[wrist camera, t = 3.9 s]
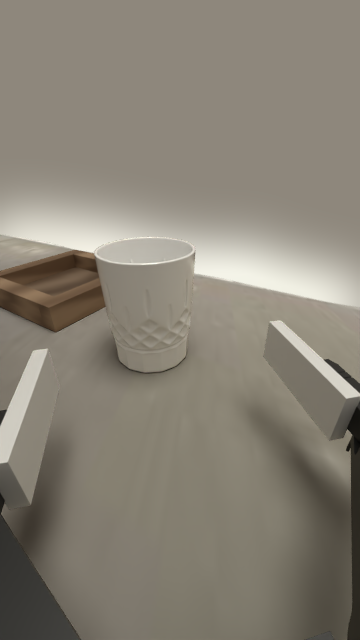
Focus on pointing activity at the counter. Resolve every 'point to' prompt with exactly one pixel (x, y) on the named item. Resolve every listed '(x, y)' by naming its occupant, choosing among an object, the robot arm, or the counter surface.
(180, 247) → the white cup
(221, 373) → the counter surface
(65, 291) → the wooden tray
